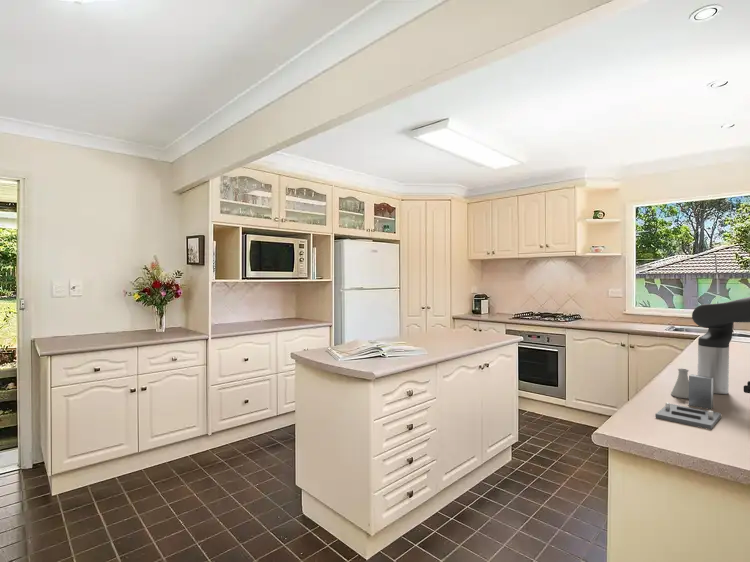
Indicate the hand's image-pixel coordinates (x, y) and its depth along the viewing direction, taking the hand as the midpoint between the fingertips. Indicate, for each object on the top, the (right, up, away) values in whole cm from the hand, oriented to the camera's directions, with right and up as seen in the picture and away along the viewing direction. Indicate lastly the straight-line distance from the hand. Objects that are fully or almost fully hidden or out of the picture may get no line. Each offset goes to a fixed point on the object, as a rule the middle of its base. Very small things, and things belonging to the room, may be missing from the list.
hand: (745, 386), depth 134 cm
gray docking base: (-20, -9, -3) cm, 22 cm away
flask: (-5, -9, +20) cm, 23 cm away
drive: (-8, -9, +9) cm, 14 cm away
